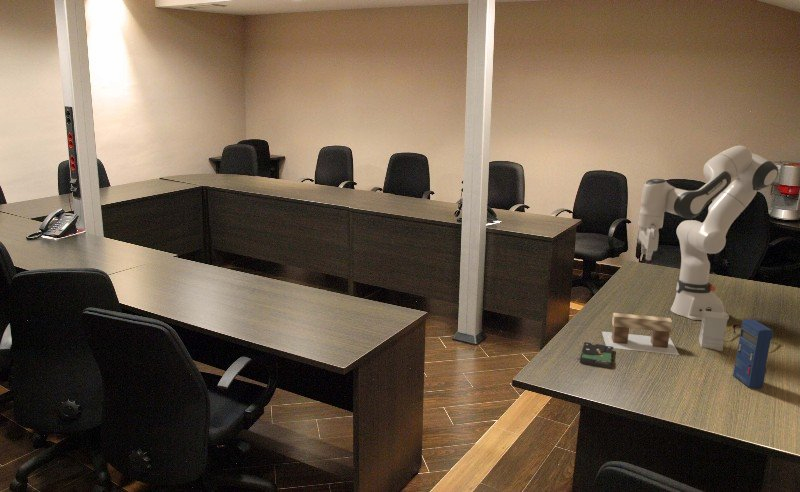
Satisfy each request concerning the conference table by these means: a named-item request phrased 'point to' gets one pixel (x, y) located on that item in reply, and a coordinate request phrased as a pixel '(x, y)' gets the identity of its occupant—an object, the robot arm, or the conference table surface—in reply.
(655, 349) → the board
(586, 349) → the disk drive
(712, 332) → the supplement box
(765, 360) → the electronic device
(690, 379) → the conference table surface
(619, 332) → the pillar
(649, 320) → the plank
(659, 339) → the pillar
